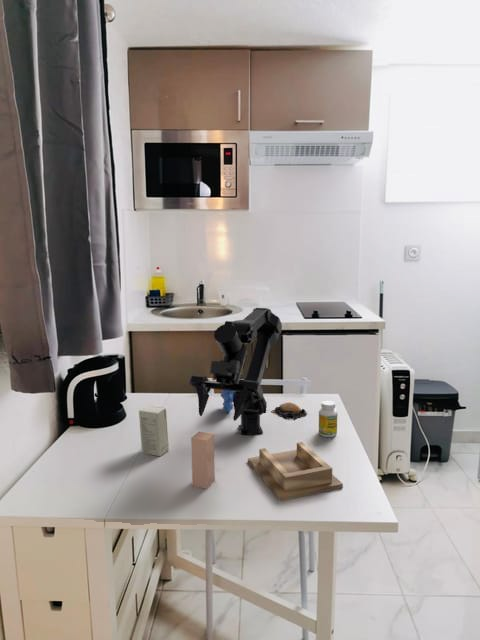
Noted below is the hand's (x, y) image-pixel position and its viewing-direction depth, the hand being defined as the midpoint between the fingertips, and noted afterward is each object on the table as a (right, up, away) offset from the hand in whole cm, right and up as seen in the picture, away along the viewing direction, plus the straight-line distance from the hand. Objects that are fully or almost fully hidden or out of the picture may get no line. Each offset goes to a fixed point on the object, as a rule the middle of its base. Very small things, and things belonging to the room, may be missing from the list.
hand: (217, 417), depth 123 cm
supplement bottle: (+31, -9, +23) cm, 40 cm away
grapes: (+3, -6, +41) cm, 41 cm away
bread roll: (+22, -7, +39) cm, 46 cm away
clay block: (-3, -15, -5) cm, 16 cm away
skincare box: (-18, -12, +12) cm, 24 cm away
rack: (+19, -14, -1) cm, 23 cm away
